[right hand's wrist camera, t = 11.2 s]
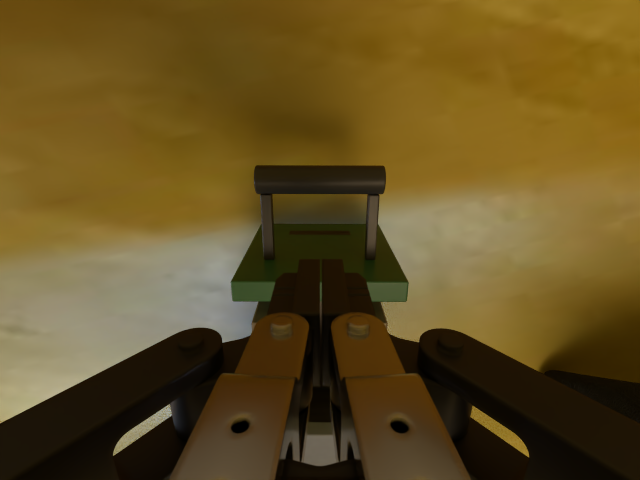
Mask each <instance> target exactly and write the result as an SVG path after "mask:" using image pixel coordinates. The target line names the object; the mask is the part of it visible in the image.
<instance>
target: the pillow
mask: <svg viewBox="0 0 640 480" xmlns="http://www.w3.org/2000/svg"><path fill="white" fill-rule="evenodd" d="M544 375H546V376H548V377H550V378H552V379H554V380H556V381H558V382H560V383H561V384H563V385H565V386H567V387H569V388H571V389H573V390H575V391H577V392H579V393H581V394H583V395H585V396H587V397H589V398H591V399H593V400H595V401H597V402H599V403H601V404H603V405H604V406H606V407H608V408H610V409H612V410H614V411H616V412H618V413H620V414H622V415H624V416H626V417H628V418H630V419H632V420H634V421H636V422H638V423H640V383H634V382H626V381H619V380H613V379H606V378H600V377H593V376H587V375H581V374H576V373H570V372H564V371H556V370H550V371H548V372H545V374H544Z"/></svg>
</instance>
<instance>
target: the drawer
mask: <svg viewBox="0 0 640 480" xmlns="http://www.w3.org/2000/svg"><path fill="white" fill-rule="evenodd" d="M385 184H386V172H385V167H384V166H275V165H257V166H256V167H255V170H254V186H255V191H256V193H257V194H261V195H260V200H261V217H262V224H261V226H260V228H259V229H258V231H257V233H256V235H255V237H254V239H253V241H252V243H251V245H250V247H249V248H248V250H247V252H246V254H245V256H244V258H243V260H242V262H241V264H240V265H239V267H238V269H237V271H236V273H235V275H234V277H233V279H232V281H231V290H232V300H233V301H259V302H258V305H257V308H256V311H255V314H254V317H253V321H252V331H253V329H254V327H255V325H256V323H257V322H258V321H259V320H260V319H262V318H263V317H265V316H267V312H268V308H269V304H270V301H271V297H272V293H273V289H274V285H275V282H276V279H277V278H278V277H280V276H281V275H282V274H283V273H297V272H298V265H299V259H320V386H313V391H312V399H311V402H310V416H309V422H331V416H330V386H322V259H343V265H344V272H345V273H359V274H360V275H361V276H362V277H364V278H365V279H366V282H367V286H368V289H369V293H370V296H371V300H372V304H373V307H374V311H375V315H376V317H377V318H378V319H380V320H381V321H382V322H383V323H384V325H385V327H386V329H387V321H386V317H385V314H384V311H383V308H382V305H381V302H406V301H407V293H408V284H409V282H408V280H407V278H406V276H405V275H404V273H403V271H402V269H401V267H400V265H399V263H398V261H397V259H396V257H395V255H394V254H393V252H392V250H391V248H390V246H389V244H388V242H387V240H386V238H385V236H384V234H383V232H382V231H381V229H380V227H379V225H378V211H379V194H383V193H384V190H385ZM272 194H368V195H367V215H366V224H274V221H273V199H272Z"/></svg>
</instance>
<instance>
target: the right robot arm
mask: <svg viewBox="0 0 640 480" xmlns="http://www.w3.org/2000/svg"><path fill="white" fill-rule="evenodd" d="M313 386H320V259H299V265H298V272H297V273H283V274H282V275H281V276H280V277H278V278H277V279H276V282H275V285H274V289H273V293H272V297H271V301H270V304H269V308H268V312H267V316H265V317H263V318H262V319H260V320H259V321H258V322H257V323H256V325H255V327H254V329H253V331H252V334H251V335H250V336H248V337H246V338H243V339H239V340H234V341H229V342H225V343H222V338H221V335H220V334H219V333H218V332H217V331H215V330H212V329H209V328H193V329H188V330H184V331H181V332H179V333H176V334H174V335H172V336H170V337H168V338H167V339H165V340H163V341H161V342H159V343H157V344H155V345H153V346H151V347H149V348H147V349H145V350H143V351H141V352H139V353H137V354H135V355H133V356H131V357H129V358H127V359H125V360H124V361H122V362H120V363H118V364H116V365H114V366H112V367H110V368H108V369H106V370H104V371H102V372H100V373H98V374H96V375H94V376H92V377H90V378H88V379H86V380H84V381H82V382H80V383H79V384H77V385H75V386H73V387H71V388H69V389H67V390H65V391H63V392H61V393H59V394H57V395H55V396H53V397H51V398H49V399H47V400H45V401H43V402H41V403H39V404H37V405H36V406H34V407H32V408H30V409H28V410H26V411H24V412H22V413H20V414H18V415H16V416H14V417H12V418H10V419H8V420H6V421H4V422H2V423H0V480H640V423H638V422H636V421H634V420H632V419H630V418H628V417H626V416H624V415H622V414H620V413H618V412H616V411H614V410H612V409H610V408H608V407H606V406H604V405H603V404H601V403H599V402H597V401H595V400H593V399H591V398H589V397H587V396H585V395H583V394H581V393H579V392H577V391H575V390H573V389H571V388H569V387H567V386H565V385H563V384H561V383H560V382H558V381H556V380H554V379H552V378H550V377H548V376H546V375H544V374H542V373H540V372H538V371H536V370H534V369H532V368H530V367H528V366H526V365H524V364H522V363H520V362H518V361H516V360H515V359H513V358H511V357H509V356H507V355H505V354H503V353H501V352H499V351H497V350H495V349H493V348H491V347H489V346H487V345H485V344H483V343H481V342H479V341H477V340H475V339H473V338H472V337H470V336H468V335H466V334H463V333H461V332H458V331H455V330H451V329H442V328H440V329H431V330H428V331H426V332H424V333H423V334H422V335H421V337H420V340H419V342H414V341H409V340H404V339H400V338H397V337H395V336H392V335H390V334H389V333H388V331H387V329H386V327H385V325H384V323H383V322H382V321H381V320H380V319H378V318H377V317H376V315H375V311H374V307H373V304H372V300H371V296H370V293H369V289H368V286H367V282H366V279H365V278H364V277H362V276H361V275H360V274H359V273H345V272H344V265H343V259H322V386H330V416H331V424H332V432H333V440H334V448H335V456H336V463H333V464H329V465H325V466H315V465H311V464H307V463H304V456H305V448H306V440H307V432H308V424H309V416H310V402H311V399H312V391H313ZM168 404H170V407H171V412H172V416H171V417H169V418H168V419H166V420H165V421H163V422H162V423H161V424H159V425H158V426H156V427H155V428H153V429H152V430H150V431H149V432H148V433H146V434H145V435H143V436H142V437H140V438H139V439H137V440H136V441H135V442H133V443H132V444H130V445H129V446H127V447H126V448H125V449H123V450H122V451H120V452H119V453H117V454H116V455H114V456H113V451H114V448H115V446H116V444H117V442H118V441H119V440H120V438H121V437H122V436H123V435H124V434H125V433H127V432H128V431H129V430H131V429H132V428H134V427H135V426H137V425H138V424H140V423H141V422H143V421H144V420H146V419H147V418H149V417H150V416H152V415H153V414H155V413H156V412H158V411H159V410H161V409H162V408H164V407H165V406H167V405H168ZM472 405H473V406H475V407H476V408H478V409H479V410H481V411H482V412H484V413H485V414H487V415H488V416H490V417H491V418H493V419H494V420H496V421H497V422H499V423H500V424H502V425H503V426H505V427H506V428H508V429H509V430H511V431H512V432H514V433H515V434H516V435H517V436H518V437H519V438H520V439H521V440H522V441H523V442H524V444H525V445H526V447H527V449H528V452H529V457H527V456H526V455H524V454H523V453H521V452H520V451H518V450H517V449H516V448H514V447H513V446H511V445H510V444H508V443H507V442H505V441H504V440H503V439H501V438H500V437H498V436H497V435H495V434H494V433H492V432H491V431H490V430H488V429H487V428H485V427H484V426H482V425H481V424H479V423H478V422H477V421H475V420H474V419H472V418H471V417H470V416H471V410H472Z"/></svg>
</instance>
